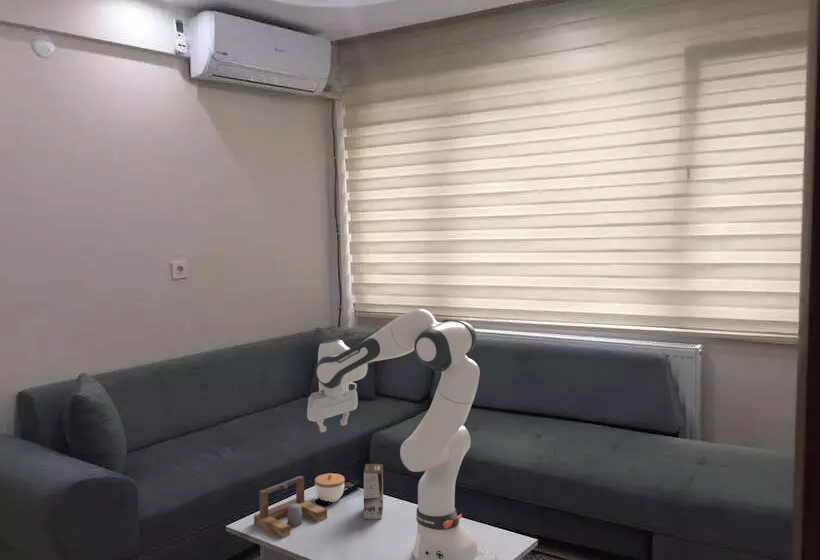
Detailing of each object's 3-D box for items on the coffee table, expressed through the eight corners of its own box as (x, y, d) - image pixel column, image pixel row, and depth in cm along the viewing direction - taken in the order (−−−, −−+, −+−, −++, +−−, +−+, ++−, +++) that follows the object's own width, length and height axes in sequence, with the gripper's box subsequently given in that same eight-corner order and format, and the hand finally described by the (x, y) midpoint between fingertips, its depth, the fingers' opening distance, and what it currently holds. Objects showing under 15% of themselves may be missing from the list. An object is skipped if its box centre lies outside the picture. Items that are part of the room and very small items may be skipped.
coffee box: (382, 519, 233) (382, 473, 231) (363, 519, 233) (362, 473, 231) (383, 507, 242) (383, 463, 240) (365, 507, 242) (365, 463, 240)
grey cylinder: (304, 523, 230) (304, 506, 229) (293, 528, 226) (293, 510, 226) (295, 519, 233) (295, 502, 232) (284, 524, 229) (284, 506, 229)
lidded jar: (328, 508, 241) (327, 482, 241) (309, 499, 249) (308, 474, 248) (351, 499, 249) (350, 474, 248) (331, 491, 257) (331, 466, 256)
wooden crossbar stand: (327, 517, 234) (326, 483, 233) (282, 537, 220) (282, 501, 218) (298, 505, 244) (297, 472, 242) (254, 524, 229) (253, 489, 228)
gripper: (315, 395, 219) (316, 437, 220) (360, 383, 235) (361, 422, 236) (302, 392, 223) (303, 434, 224) (347, 380, 239) (348, 419, 240)
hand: (333, 428), depth 230 cm, fingers open, 8 cm apart
